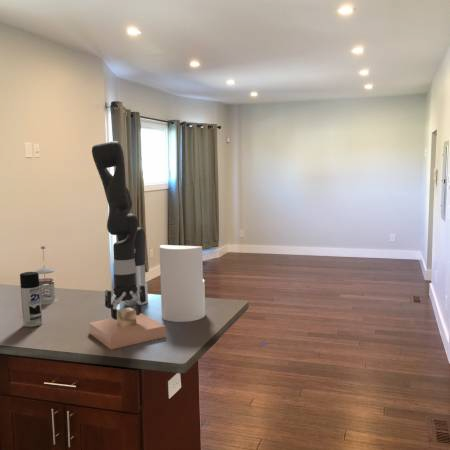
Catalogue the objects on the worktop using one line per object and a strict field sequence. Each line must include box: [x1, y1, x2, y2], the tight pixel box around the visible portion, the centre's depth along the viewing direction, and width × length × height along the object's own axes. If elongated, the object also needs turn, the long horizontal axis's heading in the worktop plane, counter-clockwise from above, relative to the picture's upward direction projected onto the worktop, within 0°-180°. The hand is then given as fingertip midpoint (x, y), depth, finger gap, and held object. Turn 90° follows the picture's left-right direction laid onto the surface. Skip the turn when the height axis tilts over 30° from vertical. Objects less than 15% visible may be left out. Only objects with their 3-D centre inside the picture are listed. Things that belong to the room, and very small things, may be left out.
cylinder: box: [159, 244, 206, 323], centre depth 199 cm, size 17×17×28 cm
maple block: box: [117, 307, 136, 327], centre depth 177 cm, size 5×5×5 cm
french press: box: [34, 245, 58, 305], centre depth 224 cm, size 10×12×25 cm
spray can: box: [19, 271, 43, 328], centre depth 190 cm, size 7×7×20 cm
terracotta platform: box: [88, 312, 167, 350], centre depth 178 cm, size 20×20×4 cm
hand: (126, 316), depth 177 cm, fingers open, 8 cm apart
